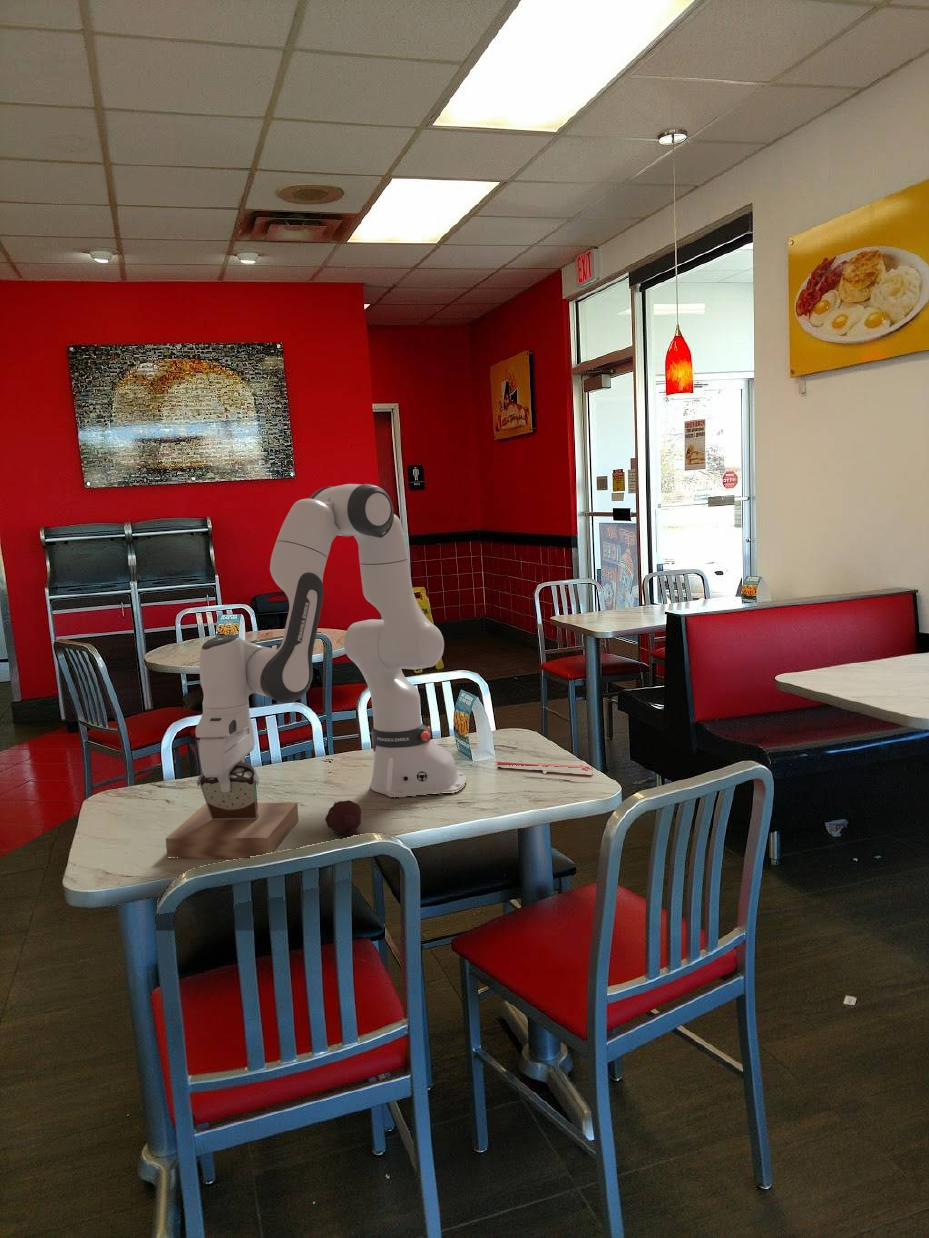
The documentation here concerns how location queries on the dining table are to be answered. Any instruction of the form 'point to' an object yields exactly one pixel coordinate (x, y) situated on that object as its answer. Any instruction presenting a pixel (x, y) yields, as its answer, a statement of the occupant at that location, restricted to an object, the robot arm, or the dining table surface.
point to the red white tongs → (540, 764)
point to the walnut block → (233, 833)
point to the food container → (232, 794)
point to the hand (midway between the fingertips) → (232, 785)
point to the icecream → (344, 817)
